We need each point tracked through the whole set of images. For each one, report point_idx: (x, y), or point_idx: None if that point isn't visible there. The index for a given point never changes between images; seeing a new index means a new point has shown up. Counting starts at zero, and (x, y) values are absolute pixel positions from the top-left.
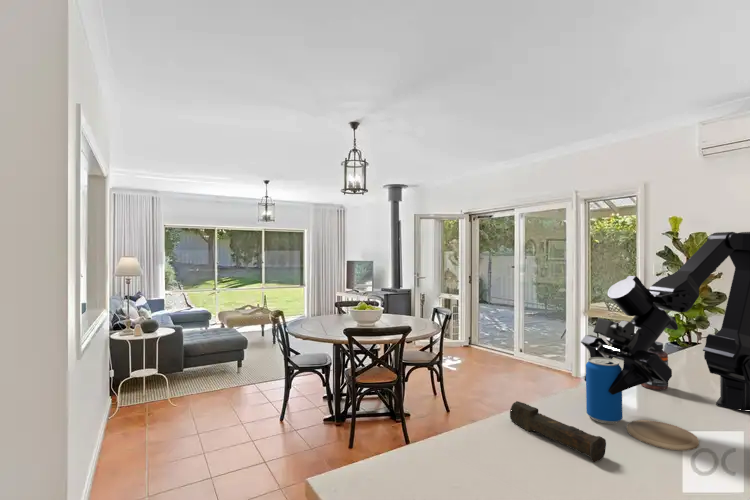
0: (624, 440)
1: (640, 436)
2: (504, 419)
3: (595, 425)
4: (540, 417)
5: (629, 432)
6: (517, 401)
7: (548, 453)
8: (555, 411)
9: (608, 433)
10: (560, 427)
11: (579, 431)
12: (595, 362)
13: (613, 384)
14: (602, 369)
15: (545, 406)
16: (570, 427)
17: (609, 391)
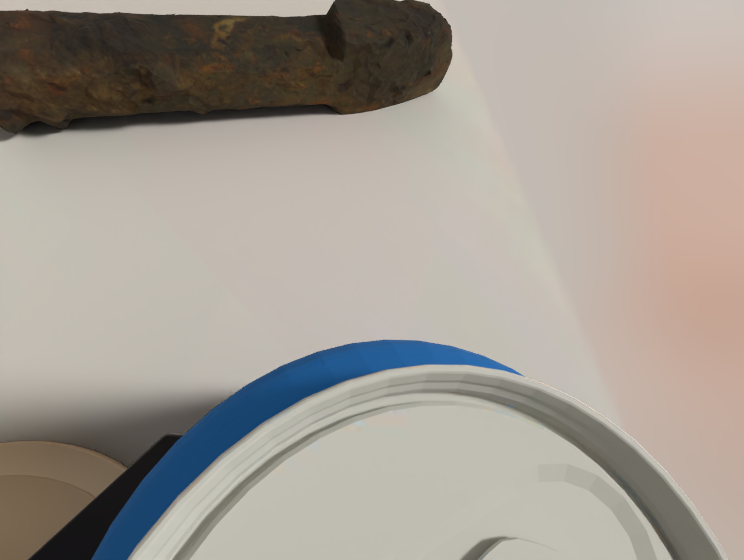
0: (74, 361)
1: (12, 458)
2: (444, 77)
3: (272, 364)
4: (291, 21)
5: (105, 458)
6: (438, 16)
7: (162, 9)
8: (465, 306)
9: (174, 350)
10: (172, 18)
11: (70, 23)
12: (469, 481)
13: (125, 499)
14: (217, 418)
15: (524, 306)
16: (137, 36)
17: (174, 435)
